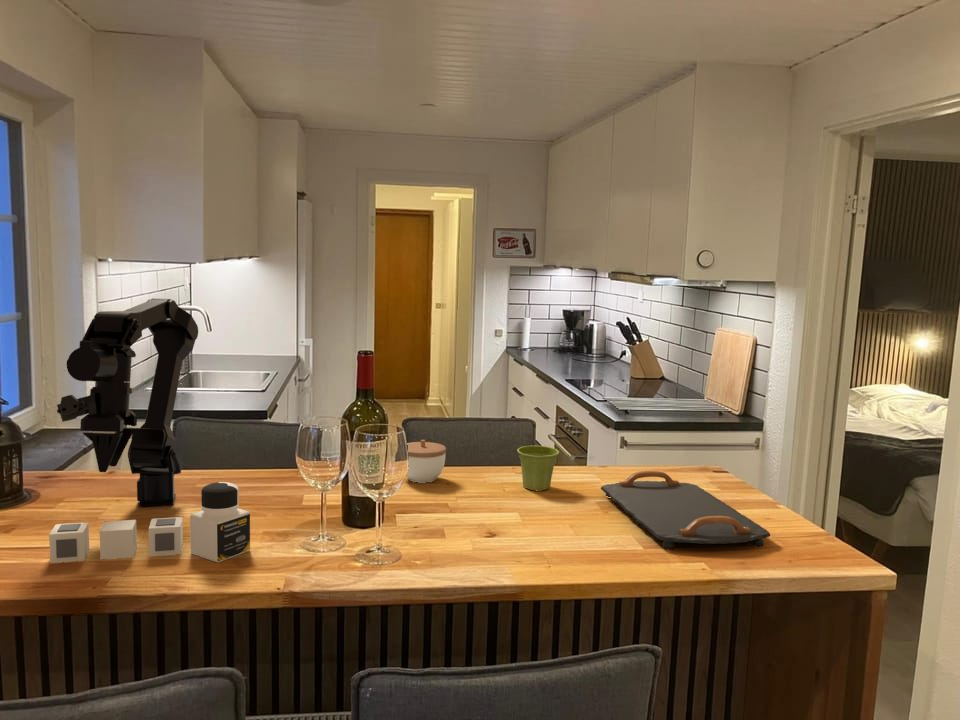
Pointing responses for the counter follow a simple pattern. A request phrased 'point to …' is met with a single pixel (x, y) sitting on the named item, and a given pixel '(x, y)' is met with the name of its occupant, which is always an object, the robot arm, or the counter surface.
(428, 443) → the lidded jar
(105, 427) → the robot arm
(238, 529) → the medicine bottle
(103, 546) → the plain cube
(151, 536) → the labelled cube a
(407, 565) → the counter surface
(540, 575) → the counter surface
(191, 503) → the counter surface
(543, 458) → the plant pot
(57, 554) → the labelled cube
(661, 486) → the serving board
